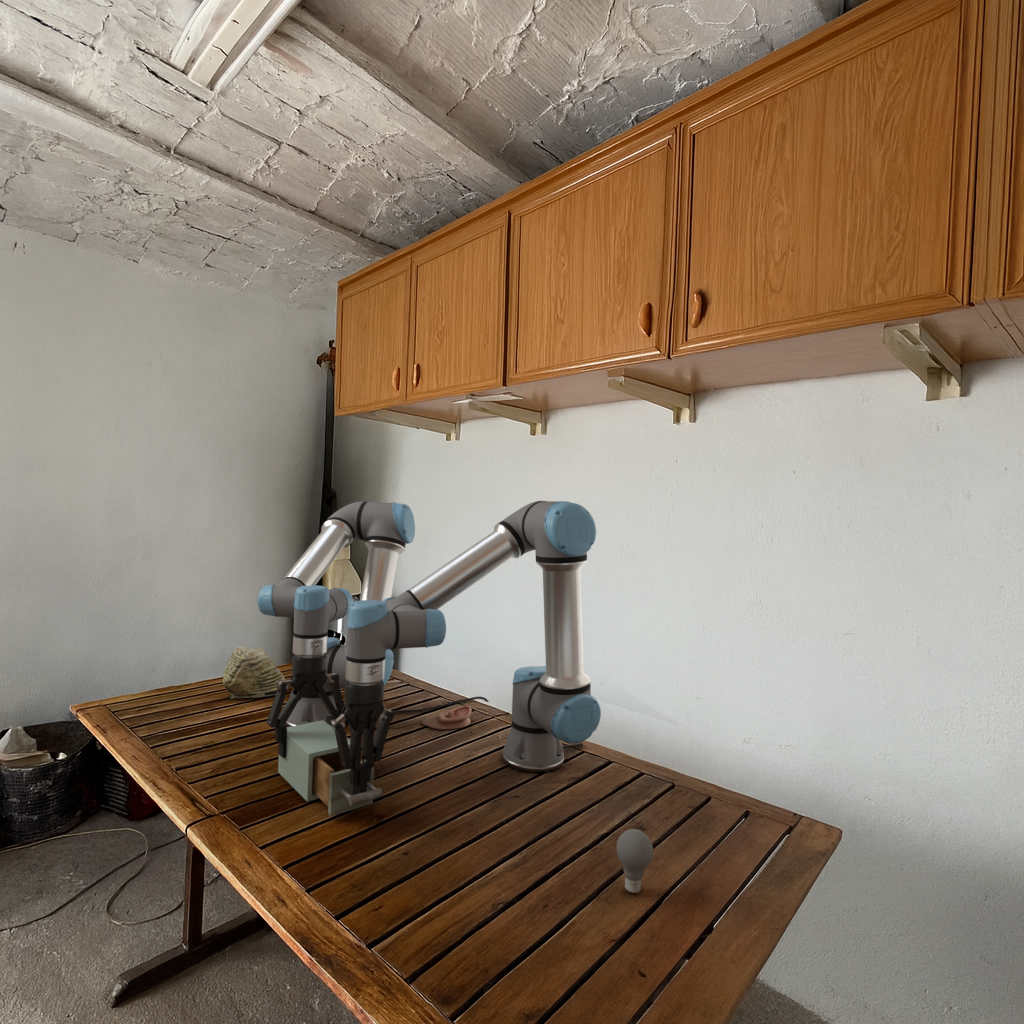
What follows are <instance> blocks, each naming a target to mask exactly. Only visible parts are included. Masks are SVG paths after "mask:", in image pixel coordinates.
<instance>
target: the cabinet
mask: <svg viewBox="0 0 1024 1024" xmlns="http://www.w3.org/2000/svg"><path fill="white" fill-rule="evenodd" d="M285 727H286V728H287V747H286V757H285V758H282V757H281V756H280V755H279V754H278V761H277V762H278V765H277V773H278V774H279V775H280V776H281V777H282V778H283V779H284V780H285V781H286V782H287V783H288V784H289V785H290V786H291V787H292V789H294V790H295V792H297V793H298V794H299V795H300V796H301V797H302V798H303V799H304V800H305V801H306V802H307V803H308V802H312V801H315V800H318V799H320V798H319V797H318V796H317V795H316V794H315V793H313V792H312V776H313V757H317V756H321V755H326V754H330V753H334V752H338V745H337V740H336V735H335V731H334V729H333V728H332V726H330V725H329V724H328V723H326V722H325V721H323V720H322V721H317V722H312V723H306V724H301V725H296V726H291V727H287V726H285ZM350 740H351V738H348V737H347V741H348V746H349V751H350Z"/></svg>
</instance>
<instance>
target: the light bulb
mask: <svg viewBox="0 0 1024 1024" xmlns="http://www.w3.org/2000/svg"><path fill="white" fill-rule="evenodd" d="M615 849H616V854H617V857H618V859H619V861H620V863H621V865H622V867H623V873H624V874H623V875H624V876H625V878H624V888H625V890H627V891H628V892H630V893H634V894H635V893H639V892H640V891H641V889H642V887H641V886H642V879H643V877H644V875H645V871H646V868H647V867H648V866H649V864H650V863H651V861H652V859H653V855H654V847H653V843H652V841H651V838H649V836H648V835H647V834H646V833H645V832H643V831H642V830H641V829H636V828H629V829H627V830H625V831H623V832H622V833H621V834H620V835H619V837H618V839H617V841H616V847H615Z"/></svg>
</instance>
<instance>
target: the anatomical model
mask: <svg viewBox="0 0 1024 1024" xmlns="http://www.w3.org/2000/svg"><path fill="white" fill-rule="evenodd" d="M471 715H472V707H471V706H470V705H462V706H459V707H456V708H455V707H454V708H452V709H449V710H447V711H444V712H441V713H437V714H434V715H430V716H429V717H427V718H425V719H423V720H422V721H421V724H422V725H423V726H426V727H429V728H432V729H436V730H453V729H454V730H455V729H460V728H465V727H468V726H469V725H470V724H471V722H472V721H471V718H470V717H471Z"/></svg>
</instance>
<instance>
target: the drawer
mask: <svg viewBox="0 0 1024 1024" xmlns="http://www.w3.org/2000/svg"><path fill="white" fill-rule="evenodd" d="M361 764H362V765H363V763H362V759H361ZM374 780H375V766H374V767H373V768H372V769H371V780H370V782H367V790H366V792H363V793H359V794H356V795H353V785H352V784H351V783H350V769H347V768H346V767H344V766H343V765H342V764H341V761H340V756H339V751H338V752H334V753H330V754H326V755H321V756H317V757H313V776H312V792H313V793H315V794H316V795H317V796H318V797H319V799H320V801H321V802H322V803H324V804H325V805H326V806H327V814H328V816H330V817H333V816H337V815H340V814H343V813H346V812H350V811H353V810H356V809H359V808H363V807H366V806H369V805H372V804H374V800H375V799H378V798H381V797H383V790H382V788H381V787H375V786H374V785H375V781H374ZM365 801H366V802H365Z"/></svg>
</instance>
